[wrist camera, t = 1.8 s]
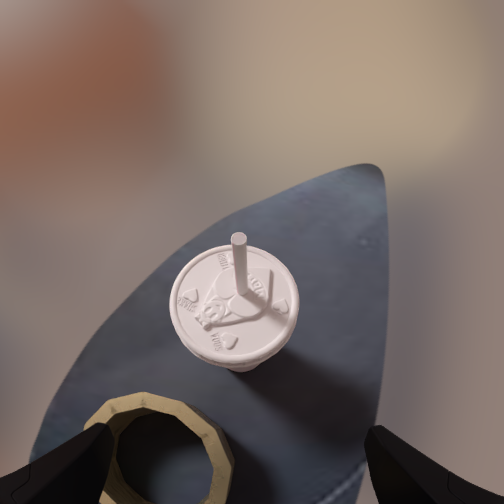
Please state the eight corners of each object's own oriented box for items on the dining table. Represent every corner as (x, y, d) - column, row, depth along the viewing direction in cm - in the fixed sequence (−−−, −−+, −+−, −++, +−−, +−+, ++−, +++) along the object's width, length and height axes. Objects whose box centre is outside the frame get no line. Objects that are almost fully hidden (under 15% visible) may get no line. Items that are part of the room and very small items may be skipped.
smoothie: (299, 352, 22) (353, 254, 10) (235, 406, 20) (209, 377, 8) (245, 296, 25) (239, 162, 13) (183, 343, 22) (111, 240, 11)
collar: (222, 530, 14) (216, 548, 11) (98, 492, 15) (73, 499, 11) (243, 414, 19) (240, 413, 16) (119, 385, 20) (96, 376, 17)
